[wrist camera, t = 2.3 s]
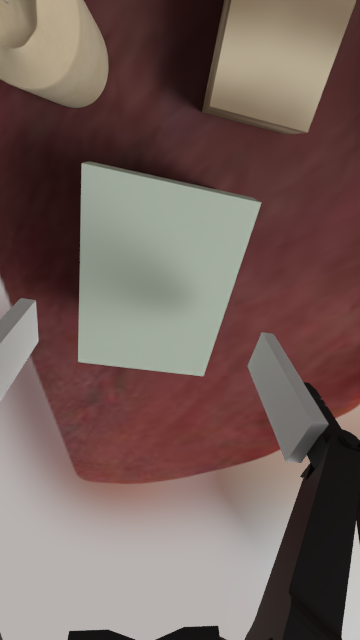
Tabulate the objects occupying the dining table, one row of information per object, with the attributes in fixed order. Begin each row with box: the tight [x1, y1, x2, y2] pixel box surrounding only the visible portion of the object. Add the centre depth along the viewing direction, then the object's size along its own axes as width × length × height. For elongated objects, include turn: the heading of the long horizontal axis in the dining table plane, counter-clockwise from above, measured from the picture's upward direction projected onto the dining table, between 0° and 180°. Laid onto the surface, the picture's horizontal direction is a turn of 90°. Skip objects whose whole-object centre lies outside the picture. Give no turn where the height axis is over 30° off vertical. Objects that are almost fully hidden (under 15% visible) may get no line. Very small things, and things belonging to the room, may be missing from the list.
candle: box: [0, 0, 108, 108], centre depth 15 cm, size 6×6×10 cm
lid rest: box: [202, 0, 356, 134], centre depth 17 cm, size 12×7×4 cm, turn 168°
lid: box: [78, 161, 261, 376], centre depth 21 cm, size 15×11×2 cm
